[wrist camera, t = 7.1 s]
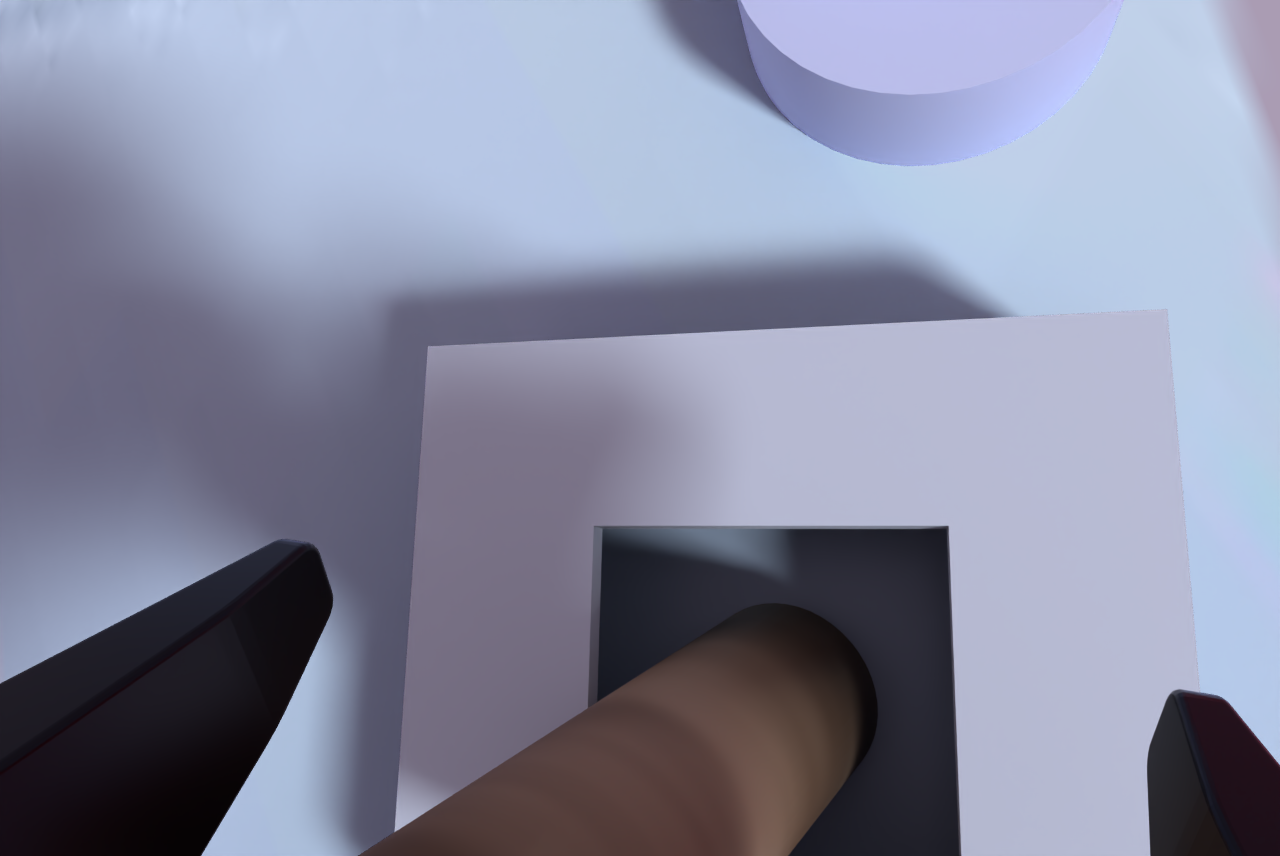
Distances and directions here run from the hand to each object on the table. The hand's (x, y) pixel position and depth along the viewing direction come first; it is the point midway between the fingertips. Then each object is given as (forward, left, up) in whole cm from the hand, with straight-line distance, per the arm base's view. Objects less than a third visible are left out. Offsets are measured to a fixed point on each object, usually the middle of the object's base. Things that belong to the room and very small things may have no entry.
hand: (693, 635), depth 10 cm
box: (-1, 0, -13) cm, 13 cm away
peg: (-1, 0, -11) cm, 11 cm away
